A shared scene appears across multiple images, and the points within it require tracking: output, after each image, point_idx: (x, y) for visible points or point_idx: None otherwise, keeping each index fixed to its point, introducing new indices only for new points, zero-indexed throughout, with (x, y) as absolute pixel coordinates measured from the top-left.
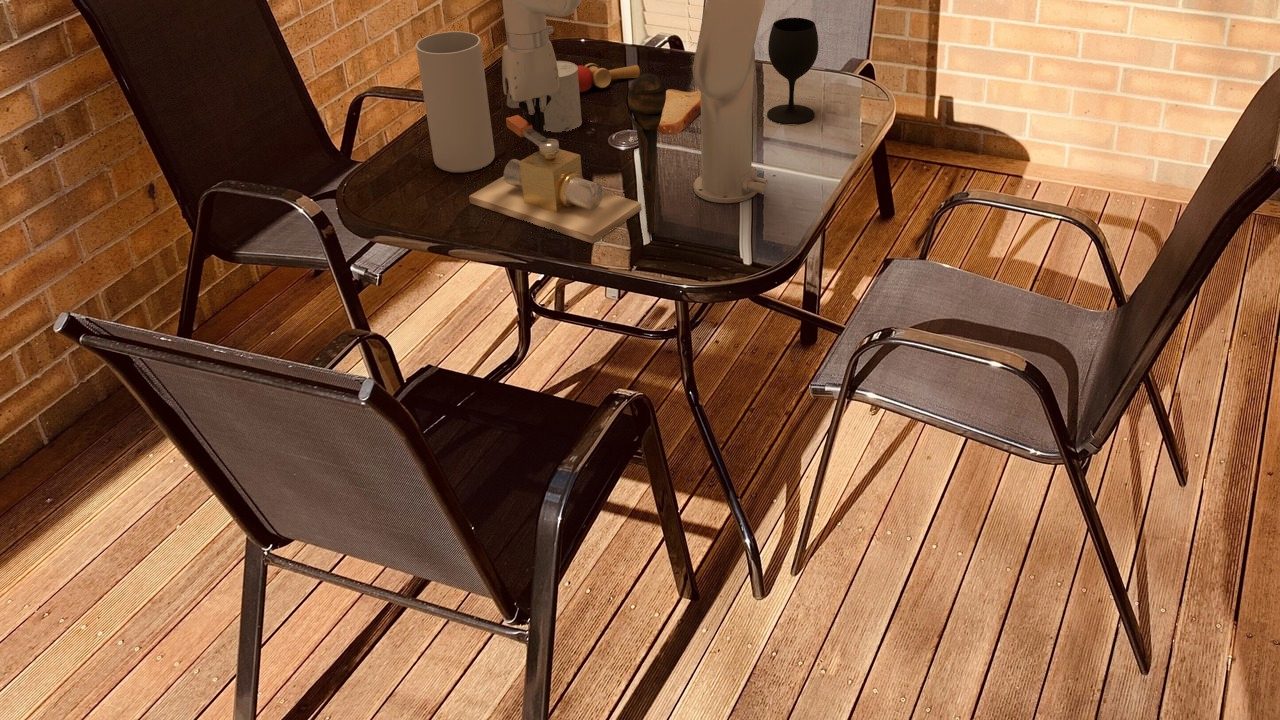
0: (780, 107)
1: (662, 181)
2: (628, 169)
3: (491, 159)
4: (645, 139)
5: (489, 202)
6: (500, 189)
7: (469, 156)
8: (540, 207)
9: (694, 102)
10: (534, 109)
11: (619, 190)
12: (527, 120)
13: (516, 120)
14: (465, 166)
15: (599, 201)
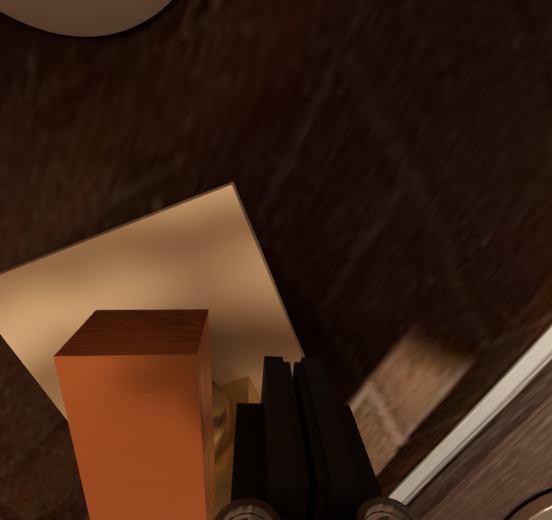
0: None
1: (505, 448)
2: (502, 355)
3: (164, 4)
4: None
5: (26, 365)
6: (90, 308)
7: (2, 6)
8: None
9: None
10: (327, 516)
11: (399, 434)
12: (234, 442)
13: (131, 447)
14: (8, 15)
15: None
